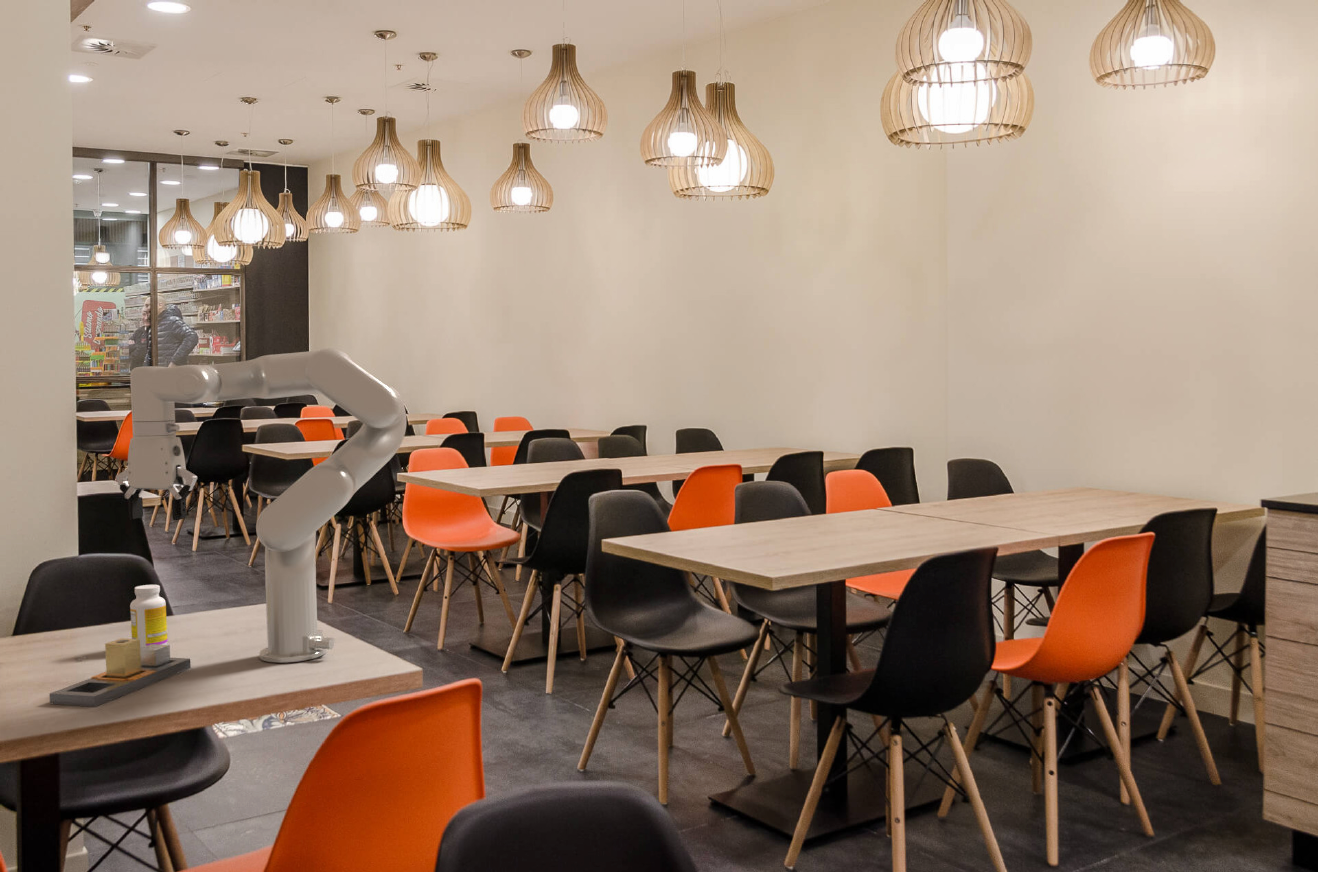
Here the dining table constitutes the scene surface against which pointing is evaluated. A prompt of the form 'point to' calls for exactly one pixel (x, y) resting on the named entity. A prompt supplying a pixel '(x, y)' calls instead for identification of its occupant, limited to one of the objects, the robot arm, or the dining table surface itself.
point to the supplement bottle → (149, 616)
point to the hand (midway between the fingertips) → (157, 518)
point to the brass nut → (123, 658)
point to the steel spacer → (155, 656)
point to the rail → (115, 685)
